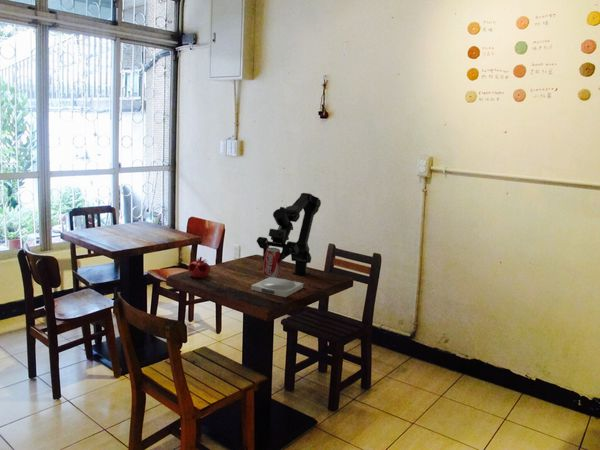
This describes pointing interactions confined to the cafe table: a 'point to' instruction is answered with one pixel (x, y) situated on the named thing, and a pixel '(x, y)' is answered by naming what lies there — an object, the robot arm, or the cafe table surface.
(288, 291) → the scale
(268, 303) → the cafe table surface
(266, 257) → the soda can
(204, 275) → the pomegranate
